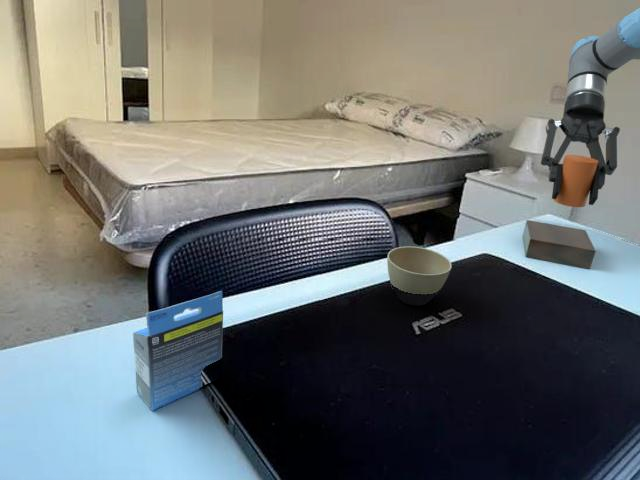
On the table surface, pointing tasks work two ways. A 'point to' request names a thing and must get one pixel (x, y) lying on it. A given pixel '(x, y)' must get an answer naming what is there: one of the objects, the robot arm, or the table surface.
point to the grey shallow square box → (558, 244)
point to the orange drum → (576, 180)
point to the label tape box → (177, 349)
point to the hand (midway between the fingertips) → (574, 198)
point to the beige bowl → (417, 269)
